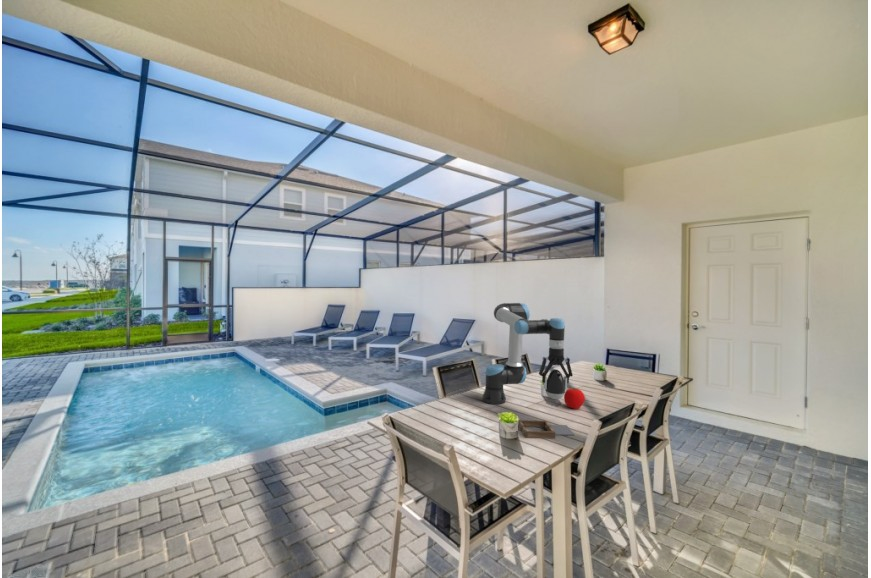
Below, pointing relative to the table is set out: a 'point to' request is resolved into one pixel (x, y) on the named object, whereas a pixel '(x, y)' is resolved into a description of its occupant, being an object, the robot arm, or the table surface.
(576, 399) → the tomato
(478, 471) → the table surface
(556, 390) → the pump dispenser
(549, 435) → the frame
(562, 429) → the rubber mat
